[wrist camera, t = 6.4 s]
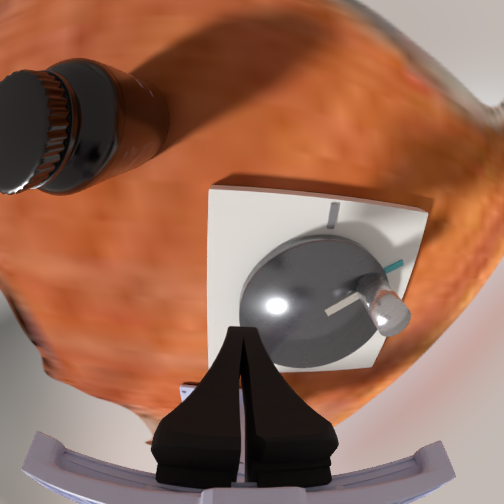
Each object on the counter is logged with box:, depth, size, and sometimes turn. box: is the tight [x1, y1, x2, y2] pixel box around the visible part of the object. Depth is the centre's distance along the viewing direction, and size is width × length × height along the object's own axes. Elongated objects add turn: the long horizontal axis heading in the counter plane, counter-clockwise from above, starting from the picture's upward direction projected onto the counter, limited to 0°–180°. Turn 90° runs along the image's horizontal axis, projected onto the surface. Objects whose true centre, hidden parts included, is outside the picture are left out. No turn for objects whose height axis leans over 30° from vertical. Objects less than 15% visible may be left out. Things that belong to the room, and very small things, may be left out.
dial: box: [239, 235, 411, 368], centre depth 19 cm, size 12×12×6 cm
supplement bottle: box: [0, 58, 169, 196], centre depth 11 cm, size 7×7×12 cm
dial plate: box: [207, 185, 429, 372], centre depth 22 cm, size 17×17×2 cm
